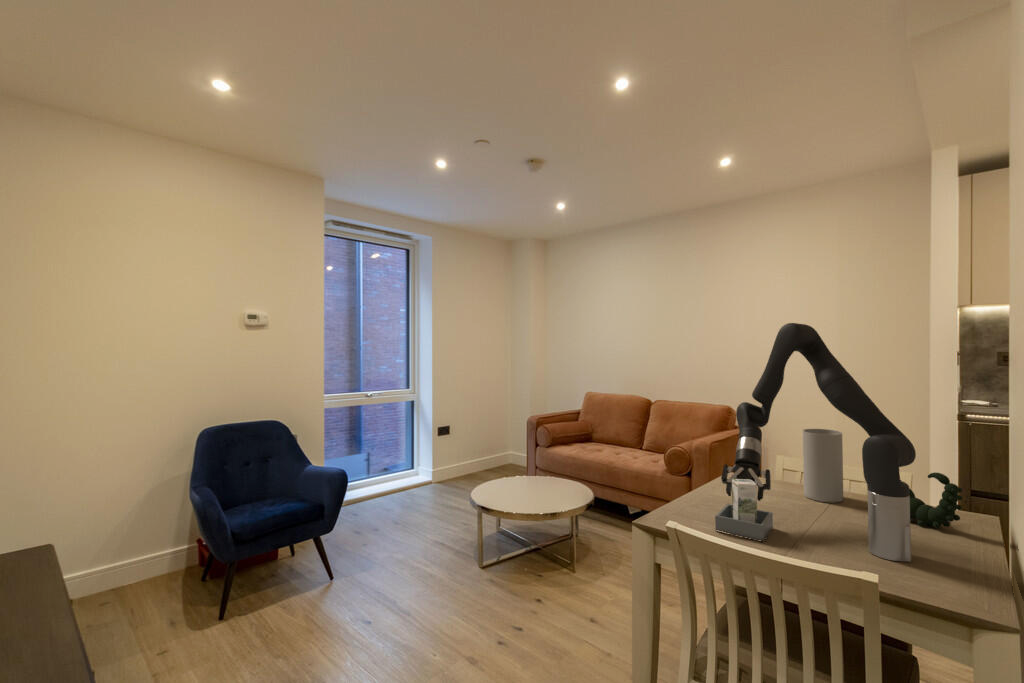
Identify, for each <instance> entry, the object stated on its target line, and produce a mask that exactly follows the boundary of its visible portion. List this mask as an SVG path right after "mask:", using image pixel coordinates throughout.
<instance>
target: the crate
mask: <svg viewBox="0 0 1024 683" xmlns="http://www.w3.org/2000/svg"><path fill="white" fill-rule="evenodd" d="M773 514H774V513H773V512H772V511H771V512H770V511H767V510H761V509H757V523H752V522H748V521H743V520H738V519H733V505H732V504H729V503H727V504H726V505H725V506H724V507H723V508H721V509H720V510H719V512H718V513H716V515H715V516H714V521H715V523H714V524H715V525H714V526H715V531H716V530H719V531H723V532H726V533H730V534H733V535H738V536H742V537H747V538H751V539H756V540H761V541H764V540H765V541H766V539H767V538H768V536H769V535H770V533H771V532H772V530H773V529H774V528H773V527H774V522H773V520H774V519H773V518H774V517H773ZM772 528H773V529H772ZM771 529H772V530H771ZM770 531H771V532H770ZM769 532H770V533H769ZM768 534H769V535H768ZM767 535H768V536H767ZM766 537H767V538H766ZM765 538H766V539H765ZM765 541H764V542H765Z"/></svg>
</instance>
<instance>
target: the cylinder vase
mask: <svg viewBox="0 0 1024 683" xmlns="http://www.w3.org/2000/svg"><path fill="white" fill-rule="evenodd" d="M843 448H844V447H843V432H842V431H840V430H839V431H838V430H834V429H833V430H832V429H827V428H806V429H805V428H804V429H802V454H803V455H802V458H803V459H802V461H803V464H802V466H803V472H802V473H803V495H804V496H805V497H806V498H807V499H809V498H810V499H809V500H813V501H815V500H816V502H820V503H821V502H822V503H830V504H833V503H834V504H835V503H841V502H842V501H844V463H843V462H844V459H843V457H844V455H843V454H844V453H843Z"/></svg>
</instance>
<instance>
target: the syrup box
mask: <svg viewBox="0 0 1024 683" xmlns="http://www.w3.org/2000/svg"><path fill="white" fill-rule="evenodd" d="M757 495H758V486H757V485H756V484H755V483H754V482H753V481H752V480H750V479H732V492H731V497H732V504H731V505H733V519H738V520H743V521H748V522H752V523H757V510H758V509H757V508H758V499H757Z"/></svg>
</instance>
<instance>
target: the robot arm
mask: <svg viewBox="0 0 1024 683" xmlns="http://www.w3.org/2000/svg"><path fill="white" fill-rule="evenodd" d="M795 352H798V353H800V354H801V356H803V357H804V359H805V360H807V362H808V364H810V365H811V368H812V370H813V373H814V377H815V381H816V385H817V386H818V388H819V391H820V392H821V393H822V394H823V396H824V397H825V398H826V399H827V401H828V402H829V403H830V405H832V406H833V407H834V408H835V409H836V410H837V411H839V412H840V413H842V415H844V416H846V417H848V419H851V420H852V421H854V423H857V425H859V426H860V427H861V428H862V429H863V430H864V431H865V433H866V434H867V435H868V437H867V438H866V439H864V440H865V441H864V442H863V445H862V449H861V452H862V453H861V454H862V456H861V458H862V471H863V477H864V481H865V482H866V483H865V484H866V485H867V528H868V529H867V530H868V531H867V534H868V538H867V539H868V541H867V542H868V543H867V544H868V551H869V553H871V554H872V555H874V556H875V557H879V558H881V559H885V560H890V561H894V562H907V563H912V539H911V538H912V536H911V535H912V534H911V532H912V531H911V520H910V489H911V488H910V486H909V484H908V483H906V482H905V481H903V480H901V476H900V468H902V467H903V468H904V467H908V466H910V465H912V464H913V463H914V461H915V460H916V457H917V455H916V449H915V446H914V445H913V443H912V441H911V440H910V439H909V438H908V437H907V436H906V434H904V433H903V432H902V430H900V429H899V428H898V427H897V426H896V425H895V424H894V423H893V422H892V421H891V420H890V419H889V418H888V417H886V415H885V414H884V413H883V412H882V411H881V410H880V408H878V406H877V405H876V404H875V402H874V401H873V400H872V399H871V398H870V397H869V396H868V395H867V393H865V391H864V390H863V389H862V387H861V385H860V384H858V382H857V381H856V380H855V379H854V377H853V376H852V375H851V374H850V373H849V372H848V371H847V369H845V367H844V366H843V365H842V364H841V362H840V361H839V360H838V359H837V357H835V356H834V354H832V352H831V351H830V349H829V347H827V345H826V344H825V341H824V340H823V339H822V337H821V336H820V334H819V333H818V332H817V330H816V329H815V328H814V327H813V326H811V325H809V324H805V323H798V322H797V323H796V322H789V323H785V324H783V325H782V326H781V327H780V328H779V330H778V332H777V335H776V337H775V340H774V342H773V346H772V349H771V351H770V354H769V357H768V360H767V363H766V366H765V368H764V370H763V372H762V374H761V377H760V379H758V382H757V383H756V386H754V389H753V391H752V393H751V396H752V399H754V400H755V401H756V402H758V403H759V404H761V406H758V405H755V404H753V403H750V402H747V401H744V402H741V403H740V404H739V405H738V406H737V408H736V412H735V414H736V415H735V416H736V421H737V425H738V431H739V433H738V441H737V444H736V451H735V458H734V459H735V460H734V465H733V466H730V465H729V466H728V464H726V463H725V464H724V465H723V469H722V473H721V477H720V479H721V483H722V484H725V485H726V486H725V487H726V488H725V492H726V495H727V496H728V497H732V479H750V480H752V481H753V482H754V483H755V484H756V485H757V502H761V500H763V499H764V492H765V490H768V491H770V490H771V488H772V487H771V486H772V485H771V481H772V480H771V471H770V469H766V470H762V469H761V459H762V441H763V440H762V439H763V438H762V437H763V432H762V430H761V429H760V428H763V427H765V426H767V424H768V423H769V421H770V420H769V419H770V416H771V410H772V406H773V403H774V401H775V399H776V397H777V396H778V394H779V392H780V390H781V388H782V386H783V383H784V379H785V370H786V365H787V363H788V361H789V359H790V358H791V356H792V355H793V354H794V353H795ZM731 472H733V473H732V474H731V476H730V477H729V478H728V476H729V475H728V474H730V473H731ZM760 476H763V478H764V479H765V483H763V482H762V481H761V479H760V478H759V477H760ZM909 488H910V489H909Z"/></svg>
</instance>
